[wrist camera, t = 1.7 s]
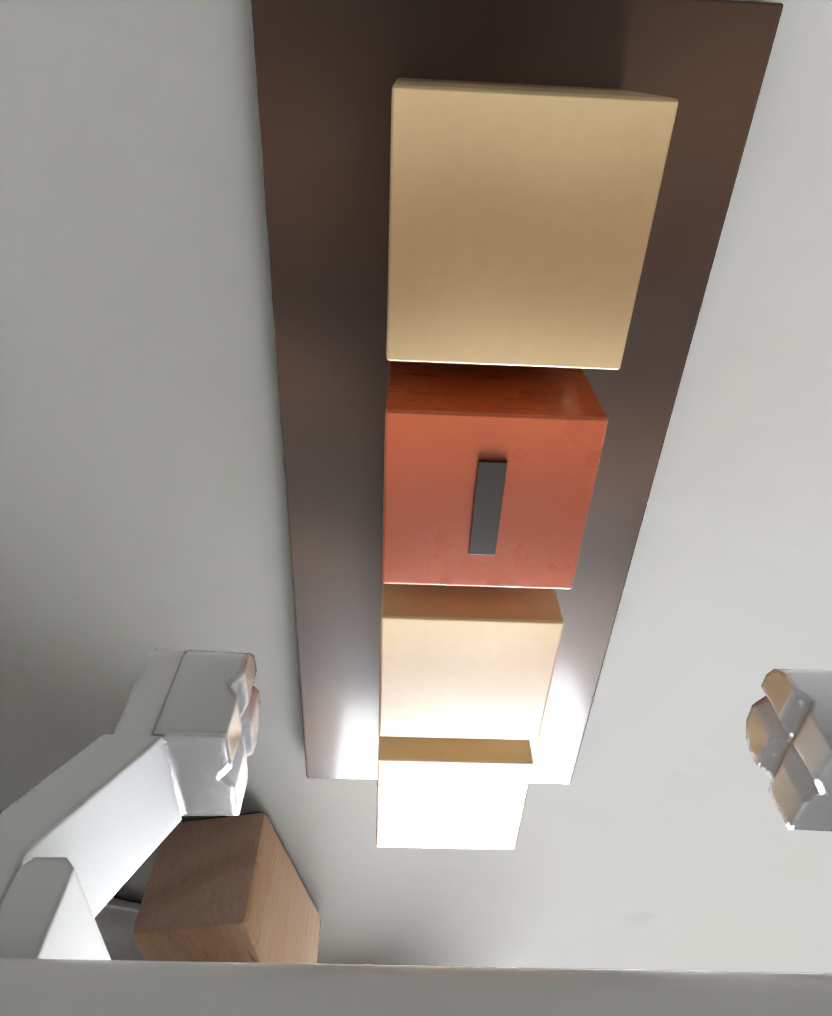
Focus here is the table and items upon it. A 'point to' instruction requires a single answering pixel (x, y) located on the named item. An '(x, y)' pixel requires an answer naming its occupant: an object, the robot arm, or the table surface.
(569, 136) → the dark brown board
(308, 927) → the wooden block
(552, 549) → the red minus sign cube
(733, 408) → the table surface
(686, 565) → the table surface
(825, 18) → the table surface
